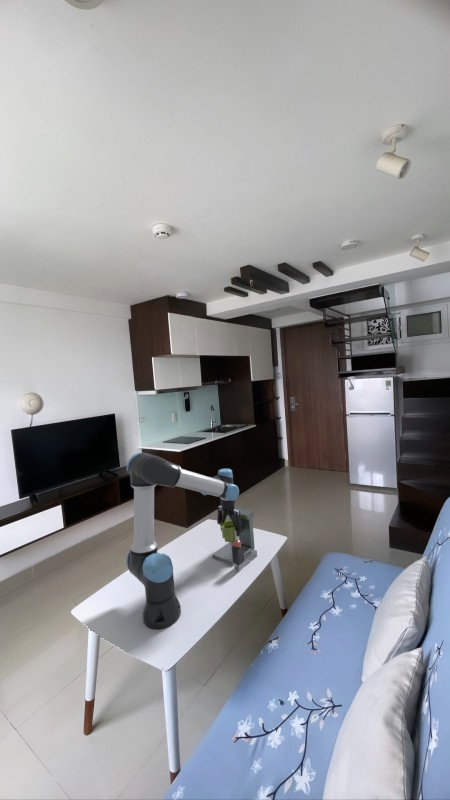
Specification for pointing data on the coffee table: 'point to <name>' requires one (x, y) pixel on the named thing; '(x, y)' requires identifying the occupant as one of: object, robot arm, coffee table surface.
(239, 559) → the lever
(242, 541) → the frame
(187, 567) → the coffee table surface
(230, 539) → the plant pot
